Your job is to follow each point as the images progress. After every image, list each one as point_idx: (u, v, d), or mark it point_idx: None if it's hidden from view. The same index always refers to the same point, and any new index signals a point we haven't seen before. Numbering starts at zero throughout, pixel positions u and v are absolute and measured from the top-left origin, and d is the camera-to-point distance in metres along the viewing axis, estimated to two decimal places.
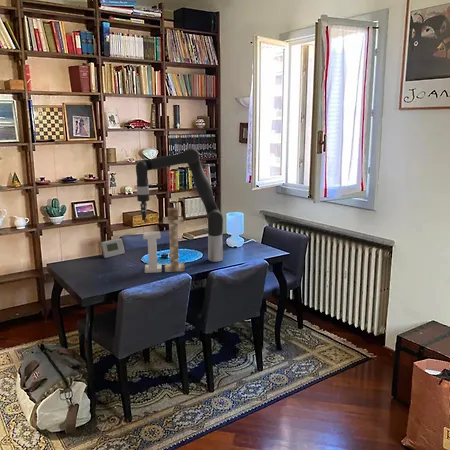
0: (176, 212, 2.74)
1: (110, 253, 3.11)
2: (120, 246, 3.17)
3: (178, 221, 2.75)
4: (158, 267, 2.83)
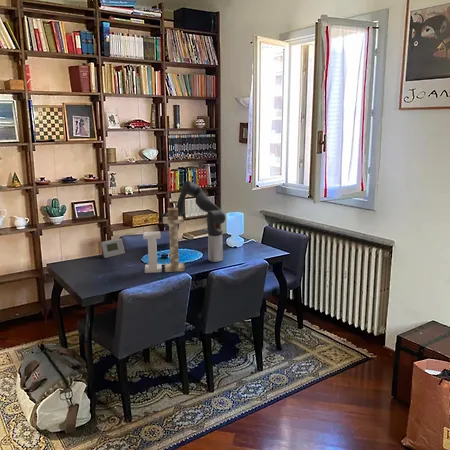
0: (176, 212, 2.74)
1: (110, 253, 3.10)
2: (120, 246, 3.16)
3: (178, 221, 2.75)
4: (158, 267, 2.83)
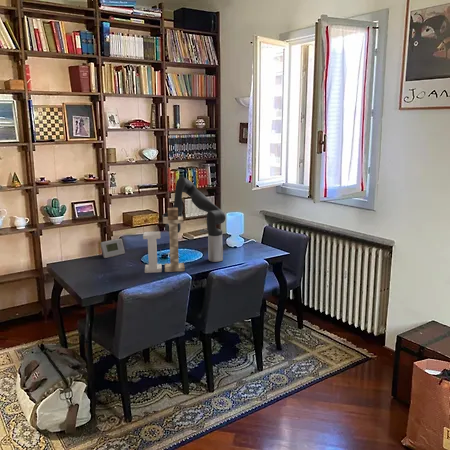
0: (176, 212, 2.74)
1: (110, 253, 3.10)
2: (120, 246, 3.16)
3: (178, 221, 2.75)
4: (158, 267, 2.83)
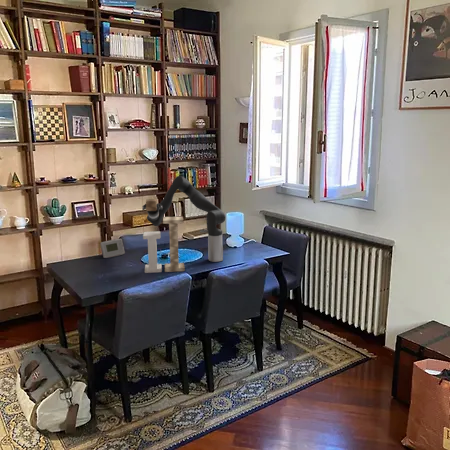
0: (154, 203, 2.82)
1: (110, 253, 3.10)
2: (120, 246, 3.16)
3: (178, 221, 2.75)
4: (158, 267, 2.83)
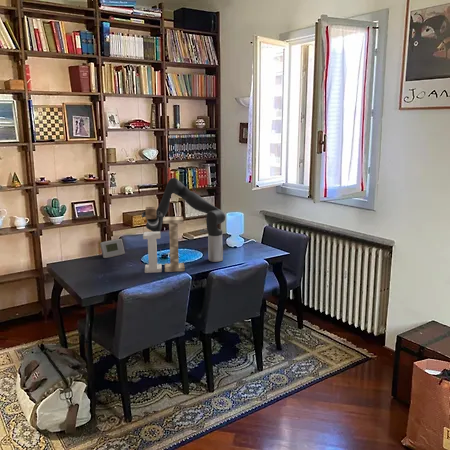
0: (154, 211, 2.73)
1: (109, 253, 3.10)
2: (120, 247, 3.15)
3: (178, 221, 2.75)
4: (158, 267, 2.83)
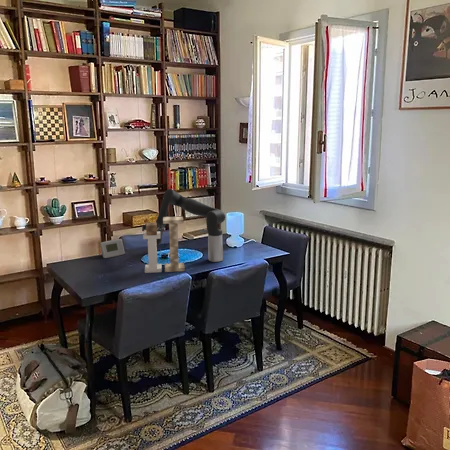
0: (155, 227, 2.75)
1: (109, 253, 3.09)
2: (120, 247, 3.15)
3: (178, 221, 2.75)
4: (158, 267, 2.83)
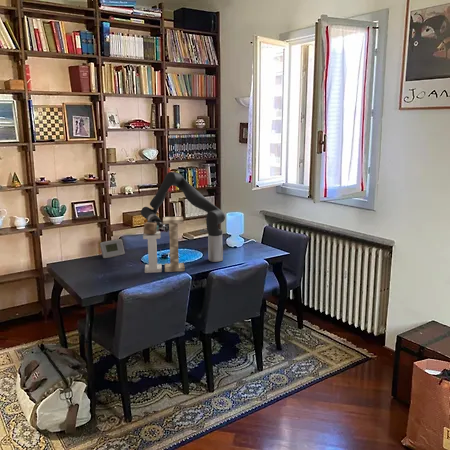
0: (152, 226, 2.74)
1: (109, 254, 3.09)
2: (120, 247, 3.15)
3: (178, 221, 2.75)
4: (158, 267, 2.83)
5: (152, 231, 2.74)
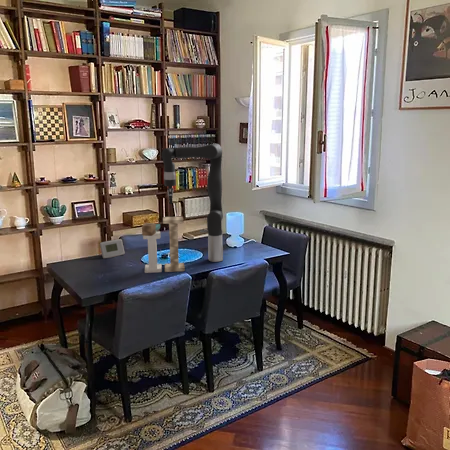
0: (150, 228, 2.73)
1: (109, 254, 3.09)
2: (120, 247, 3.15)
3: (178, 221, 2.75)
4: (158, 267, 2.83)
5: (150, 233, 2.74)
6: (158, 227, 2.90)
